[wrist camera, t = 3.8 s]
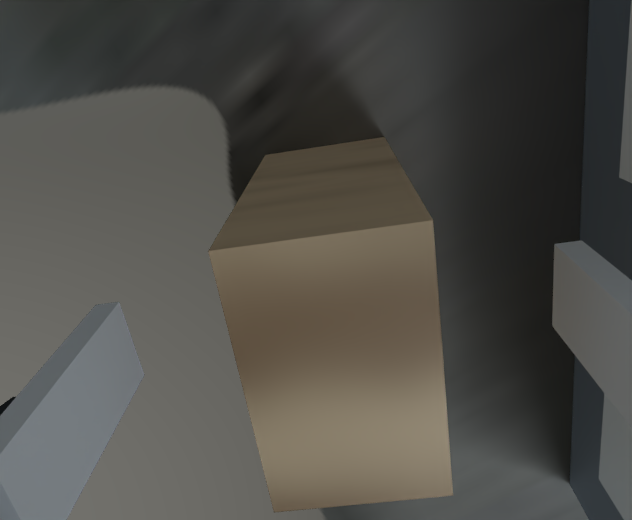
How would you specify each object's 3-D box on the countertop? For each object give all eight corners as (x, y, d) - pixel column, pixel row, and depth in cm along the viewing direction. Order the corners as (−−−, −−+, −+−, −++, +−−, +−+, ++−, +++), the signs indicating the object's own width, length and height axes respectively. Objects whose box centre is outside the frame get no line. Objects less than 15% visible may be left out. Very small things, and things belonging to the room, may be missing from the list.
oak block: (401, 307, 24) (453, 495, 14) (297, 320, 25) (274, 512, 15) (384, 137, 21) (433, 220, 11) (265, 154, 22) (208, 251, 12)
